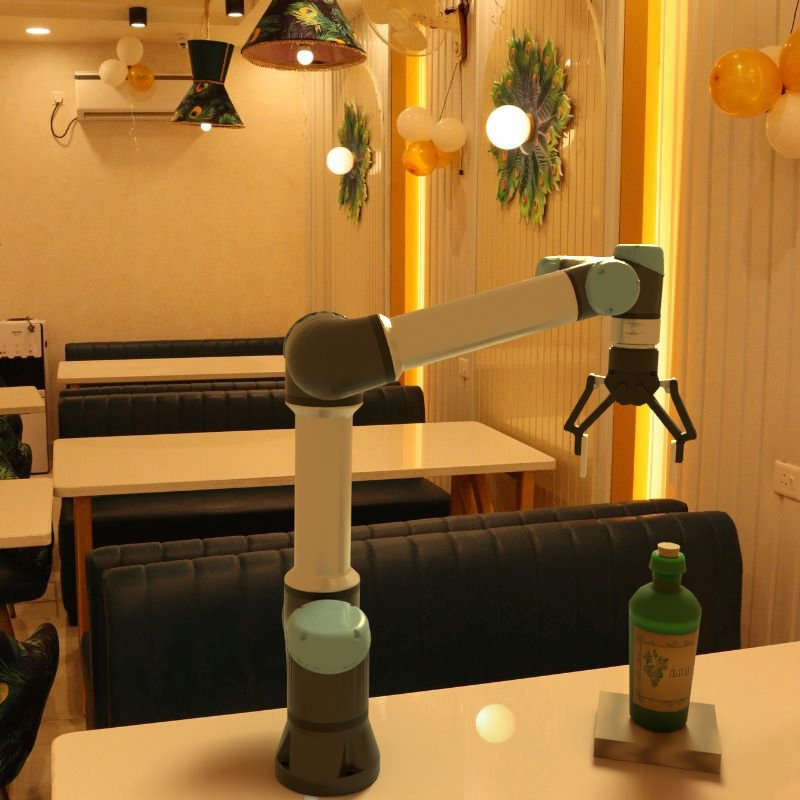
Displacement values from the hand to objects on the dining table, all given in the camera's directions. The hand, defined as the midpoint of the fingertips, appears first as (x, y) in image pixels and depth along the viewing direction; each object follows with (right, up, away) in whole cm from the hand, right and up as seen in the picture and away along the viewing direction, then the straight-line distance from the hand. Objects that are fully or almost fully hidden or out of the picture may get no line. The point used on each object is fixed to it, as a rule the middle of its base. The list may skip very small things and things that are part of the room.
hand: (626, 479), depth 158 cm
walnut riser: (+4, -40, -3) cm, 40 cm away
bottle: (+4, -37, -4) cm, 37 cm away
